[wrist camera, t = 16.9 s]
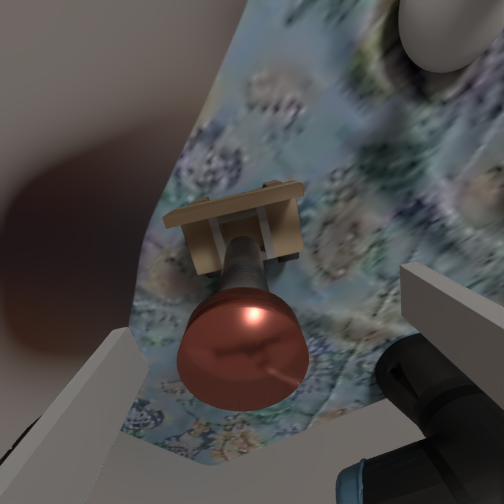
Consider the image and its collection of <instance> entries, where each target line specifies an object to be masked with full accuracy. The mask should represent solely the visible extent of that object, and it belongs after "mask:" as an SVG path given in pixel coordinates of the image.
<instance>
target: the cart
mask: <svg viewBox="0 0 504 504" xmlns="http://www.w3.org/2000/svg"><path fill="white" fill-rule="evenodd" d="M264 186H265V187H264V188H260V189H256V190H252V191H248V192H244V193H240V194H235V195H231V196H227V197H223V198H219V199H215V200H211V201H209V197H204V198H200V199H196V200H195V201H193V202H192V203H191V204H189V205H188V206H186V207H182V208H178V209H174V210H173V211H171V212H170V213H168V214H167V215H165V216H163V217H162V218H163V221H164V224H165V226H166V229H167V228H171V227H175V226H179V225H181V228H182V231H183V234H184V236H185V239H186V242H187V245H188V248H189V251H190V254H191V257H192V260H193V262H194V265H195V268H196V271H197V274H198V275H200V274H206V276H207V277H208V278H215V277H219V276H221V272H222V267H223V262H224V257H225V252H226V247H227V245H228V243H229V242H230V241H231V240H232V239H234V238H235V237H238V236H248V237H251V238H253V239H254V240H255V241H256V242H257V243H258V244H259V247H260V250H261V255H262V260H267V259H272V258H276V257H277V259H278V261H279V263H281V262H285V261H289V260H294V259H298V258H299V252H301V251H304V246H303V240H302V234H301V227H300V221H299V215H298V209H297V203H296V197H301V196H304V190H303V183H299V182H296V181H289V182H285V183H282V182H279V181H277V180H274V181H270V182H266V183H264Z"/></svg>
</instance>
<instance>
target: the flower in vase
mask: <svg viewBox="0 0 504 504" xmlns="http://www.w3.org/2000/svg"><path fill="white" fill-rule="evenodd" d="M398 25H399V34H400V39H401V42H402V45H403V48H404V50H405V52H406V53H407V55H408V56H409V58H410V59H411V60H412V61H413V62H414V63H415V64H416V65H418V66H419V67H420V68H422V69H424V70H426V71H430V72H434V73H447V72H452V71H455V70H458V69H461V68H463V67H465V66H467V65H468V64H470V63H471V62H473V61H474V60H475V59H477V58H478V57H479V56H480V55H481V54H482V53H483V52H484V51H485V50H486V49H487V48H488V47H489V46H490V45H491V44H492V43H493V42H494V41H495V40H496V38H497V37H498V36H499V35H500V33H501V32H502V30H503V29H504V0H400V5H399V17H398Z"/></svg>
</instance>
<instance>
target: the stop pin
mask: <svg viewBox="0 0 504 504" xmlns="http://www.w3.org/2000/svg"><path fill="white" fill-rule="evenodd" d="M308 364H309V354H308V349H307V345H306V342H305V339H304V336H303V334H302V331H301V328H300V325H299V322H298V320H297V317H296V315H295V313H294V312H293V310H292V309H291V307H290V306H289V305H288V304H287V303H286V302H285V301H283V300H282V299H281V298H279V297H278V296H276V295H275V294H272V293H270V292H269V289H268V284H267V279H266V274H265V269H264V265H263V260H262V255H261V250H260V247H259V244H258V243H257V242H256V241H255V240H254V239H253V238H251V237H248V236H238V237H235V238H234V239H232V240H231V241H230V242H229V243H228V245H227V247H226V252H225V257H224V262H223V267H222V272H221V276H220V281H219V286H218V291H217V293H215V294H213V295H211V296H210V297H208V298H206V299H205V300H204V301H203V302H201V303H200V304H199V305H198V306H197V307H196V309H195V310H194V311H193V313H192V315H191V317H190V319H189V321H188V324H187V327H186V330H185V333H184V335H183V338H182V341H181V344H180V347H179V350H178V355H177V367H178V372H179V375H180V378H181V380H182V381H183V383H184V385H185V386H186V387H187V389H188V390H189V391H190V392H191V393H192V394H193V395H194V396H196V397H197V398H198V399H200V400H201V401H203V402H205V403H207V404H209V405H211V406H214V407H217V408H220V409H225V410H231V411H252V410H258V409H262V408H266V407H269V406H272V405H274V404H276V403H278V402H280V401H282V400H283V399H285V398H287V397H288V396H289V395H290V394H292V393H293V392H294V391H295V390H296V389H297V388H298V386H299V385H300V384H301V382H302V381H303V379H304V377H305V375H306V372H307V369H308Z"/></svg>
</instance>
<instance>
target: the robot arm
mask: <svg viewBox="0 0 504 504" xmlns="http://www.w3.org/2000/svg"><path fill="white" fill-rule="evenodd" d="M400 283H401V312H402V316H403V317H404V318H405V319H406V320H407V321H408V322H409V323H410V324H411V325H412V326H413V327H415V328H416V329H417V330H418V331H419V332H420V333H418V334H414V335H411V336H408V337H406V338H403V339H402V340H400V341H398V342H396V343H395V344H394V345H392V346H391V347H390V348H389V349H388V350H387V351H386V352H385V353H384V354H383V355H382V357H381V358H380V360H379V362H378V364H377V367H376V380H377V383H378V385H379V387H380V388H381V390H382V391H383V393H384V395H385V396H386V397H387V398H388V400H389V401H391V402H392V403H393V404H394V405H395V406H396V407H397V408H398V409H399V410H400V411H402V412H403V413H404V414H405V415H406V416H407V417H408V418H410V420H412V421H413V422H414V423H415V424H416V425H417V426H418V427H419V429H420V430H421V431H422V433H423V434H424V436H425V437H426V438H425V439H423V440H420V441H417V442H414V443H411V444H408V445H406V446H403V447H401V448H398V449H395V450H393V451H390V452H387V453H384V454H382V455H379V456H376V457H373V458H370V459H367V460H366V459H361V461H360V462H359V463H357V464H354V465H352V466H350V467H348V468H345V469H343V470H342V471H341V472H340V473H339V475H338V477H337V481H336V503H337V504H504V307H502V306H500V305H498V304H496V303H494V302H492V301H491V300H489V299H487V298H485V297H483V296H481V295H479V294H477V293H475V292H474V291H472V290H470V289H468V288H466V287H464V286H462V285H460V284H458V283H457V282H455V281H453V280H451V279H449V278H447V277H445V276H443V275H441V274H440V273H438V272H436V271H434V270H432V269H430V268H428V267H426V266H424V265H423V264H421V263H419V262H412V263H408V264H403V265H400ZM148 371H149V368H148V366H147V364H146V362H145V360H144V358H143V356H142V354H141V352H140V350H139V348H138V346H137V344H136V342H135V340H134V338H133V336H132V334H131V332H130V330H129V328H128V327H125V328H121V329H116V330H113V331H112V332H111V333H110V334H109V336H108V337H107V338H106V339H105V340H104V342H103V343H102V344H101V345H100V346H99V348H98V349H97V350H96V351H95V352H94V354H93V355H92V356H91V357H90V359H89V360H88V361H87V362H86V363H85V365H84V366H83V367H82V368H81V369H80V371H79V372H78V373H77V374H76V375H75V377H74V378H73V379H72V380H71V381H70V383H69V384H68V385H67V386H66V388H65V389H64V390H63V391H62V392H61V393H60V395H59V396H58V397H57V398H56V399H55V401H54V402H53V403H52V404H51V406H50V407H49V408H48V409H47V410H46V412H45V413H44V414H43V415H42V416H40V417H39V418H38V419H37V420H36V421H35V422H34V423H33V424H31V426H29V427H28V428H27V429H26V430H25V431H24V433H23V434H22V435H21V436H20V437H19V439H18V440H17V441H16V442H15V443H14V444H13V446H12V449H10V450H8V451H7V453H6V454H5V455H4V456H3V457H2V459H1V460H0V504H85V502H86V500H87V498H88V496H89V494H90V492H91V489H92V487H93V485H94V483H95V481H96V479H97V477H98V475H99V473H100V471H101V469H102V466H103V465H104V462H105V460H106V458H107V456H108V454H109V452H110V450H111V448H112V446H113V444H114V442H115V439H116V438H117V436H118V433H119V431H120V429H121V427H122V425H123V423H124V421H125V419H126V417H127V415H128V413H129V411H130V409H131V406H132V404H133V402H134V400H135V398H136V396H137V394H138V392H139V390H140V388H141V386H142V384H143V382H144V380H145V377H146V375H147V373H148Z"/></svg>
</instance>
